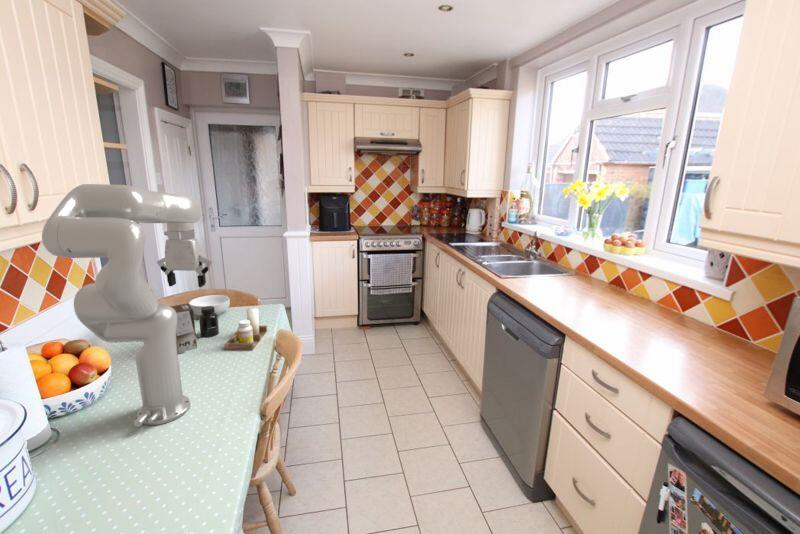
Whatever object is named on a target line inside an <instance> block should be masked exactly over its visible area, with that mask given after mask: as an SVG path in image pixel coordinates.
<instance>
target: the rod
mask: <svg viewBox="0 0 800 534" xmlns="http://www.w3.org/2000/svg"><path fill="white" fill-rule="evenodd" d="M259 314H260V313H259V308H258V307H250V308H247V309H246V320H249V321H250V325H251V326H252V331H253V334H259V326H260V319H259V318H260V315H259Z"/></svg>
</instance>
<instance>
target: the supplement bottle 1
mask: <svg viewBox="0 0 800 534" xmlns="http://www.w3.org/2000/svg"><path fill="white" fill-rule="evenodd" d="M201 313H202V314H201V315H198V321H199V322H198V323H199V333H200V337H201V338H206V339H207V338H208V339H209V338H213V337H216V336H218V335H219V333H220V330H219V329H220V328H219V315H217V314H216V313H215V309H214V307H213V306H206V307H202V308H201Z"/></svg>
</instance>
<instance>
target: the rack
mask: <svg viewBox="0 0 800 534" xmlns="http://www.w3.org/2000/svg"><path fill="white" fill-rule="evenodd" d="M266 333H268V326H267V325H259V334H253V343H238V331H237V330H236V332H235V333H234V334H233V335H232V336H231V337H230V339H228V340H227V341H226V342H225V343H224V348H225V351H245V352H246V351H248V352H249V351H254V350H255V348H256V347H257V346H258V344H259V343H260V341H261V340H262V339H263V337H264V336H265V335H266Z"/></svg>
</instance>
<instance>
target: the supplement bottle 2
mask: <svg viewBox="0 0 800 534" xmlns="http://www.w3.org/2000/svg"><path fill="white" fill-rule="evenodd" d="M237 331H238V343H253V331H252V326H251V325H250V321H249V320H247V319H242V320H238V327H237V330H236V332H237Z"/></svg>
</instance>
